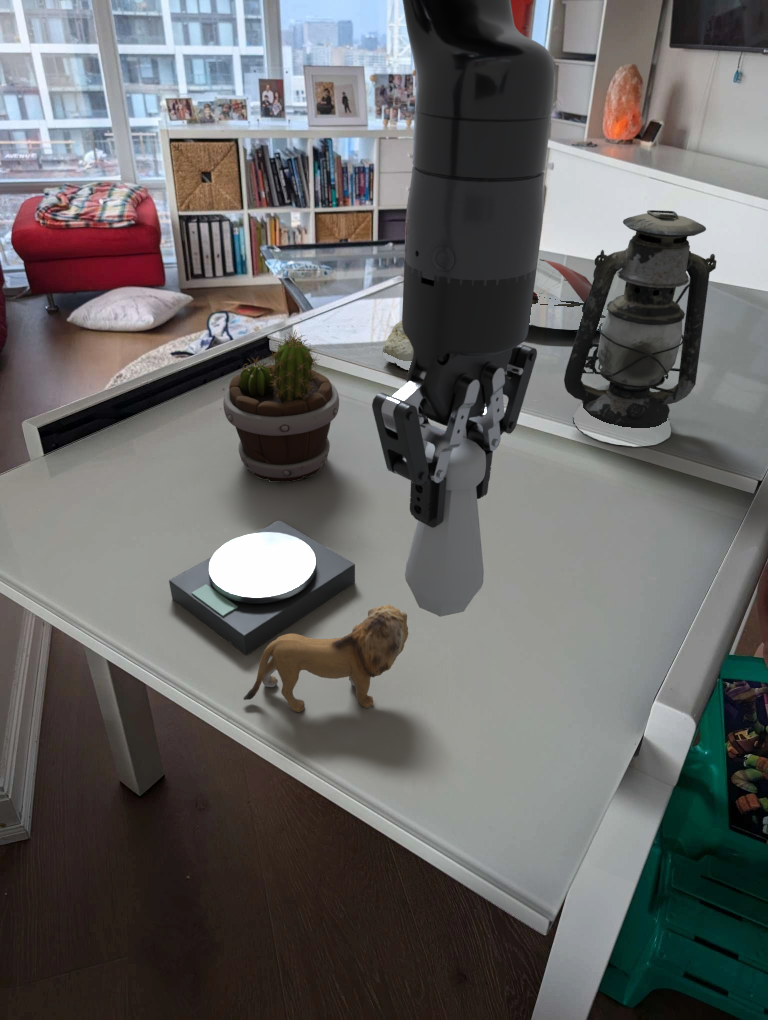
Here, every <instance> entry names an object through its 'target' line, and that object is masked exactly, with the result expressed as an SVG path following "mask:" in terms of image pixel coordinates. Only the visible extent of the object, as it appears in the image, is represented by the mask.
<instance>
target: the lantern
mask: <svg viewBox="0 0 768 1020" xmlns="http://www.w3.org/2000/svg"><path fill="white" fill-rule="evenodd" d="M622 224H623V225H624V226H626V227H627V228H628V229H630V230H632V231H633V232H635V234H634V235H633V236H632V237H631V238H630V239H629V242H628V245H627V248H625V249H623V250H620V251H614V252H612V253H610V254H605V250H604V249H601V250H600V253H599V254H597V256H596V257H595V258H594V266H595V268H594V269H593V275H592V276H593V280H592V282H591V284H592V287H591V290H590V293H589V296H588V298H587V299H586V301H585V303H584V305H583V307H582V312H583V316H582V319H581V322H580V326H579V329H578V331H576V335H575V338H574V342H573V345H572V349H571V352H570V355H569V358H568V362H567V365H566V368H565V372H564V377H563V383H564V388H565V390H566V392H567V393H568V394H570V395H571V396H572V397H573V398H574V399H576V400H579V401H581V403H583V408H584V409H585V410H586V411H587V412H588V413H589V414H590V415H591V416H593V417H595V418H597V419H599V420H601V421H603V422H606V423H609V424H614V425H618V426H622V427H631V428H650V427H656V426H659V425H661V424H662V423H664V422H666V421H667V418H669V415H670V412H671V410H670V406H669V405H671V404H676V403H678V402H680V401H682V400H684V399H685V398H686V397H688V396H689V394H691V392H692V391H693V390H694V388H695V386H696V384H697V383H696V382H697V375H698V368H699V360H700V352H701V345H702V335H703V330H704V329H703V328H704V322H705V321H704V320H705V312H706V303H707V297H708V289H709V281H710V274H711V272H713V271H714V270H716V268H717V260H716V259H715V258H716V255H715V253H711V254H710V255H709V257H707V258H704V257H702V256H700V255H698V254H696V253H693V252H692V251H691V250H690V249H691V245H690V242H689V240H688V238H689V237H695V236H697V235H700V234H702V233H704V232H706V231H707V228H706V226H705V225H704V224H702V223H700V222H698V221H696V220H694V219H692V218H689V217H687V216H684V215H679V214H678V213H677V212H676V211H674V210H656V209H651V210H649V209H648V210H646V213H642V214H637V215H633V216H629V217H627V218H624V219H623V221H622ZM615 275H617V277H618V279H621V280H622V281H625V284H624V285H625V286H624V290H623V294H622V295H619V296H616V297H615V298H614V299H613V300H610V301H609V302H608V303H607V299H608V296H609V293H610V290H611V287H612V284H613V281H614V279H615ZM683 286H684V288H683V290H682V291H681V292H680V294H679V296H678V297H677V299H676V301H674V297H675V293H676V288H678V287H679V288H680V287H683ZM687 290H688V291H687ZM686 292H688V293H687V301H686V308H685V309H686V310H683V308H681V306H680V304H679V302H680V301H681V299H682V297H683V296H684V295H685V293H686ZM606 303H607V305H606ZM605 306H606V310H608V313H607V315H606V316H604V315H602V312H603V309H605ZM600 318H605V320H604V322H603V323H601V324H600V326H599V330H597V327H598V324H599V321H600ZM684 319H685V320H684ZM683 320H684V328H683ZM601 326H602V330H601ZM596 330H597V331H599V333H600V337H599V341H598V343H593V342H594V339H595V337H596V333H597V331H596ZM681 345H682V346H681ZM680 347H681V354H680V364H679V368H677V367H674V366H675V364H676V361H677V357H678V354H679V350H680ZM593 348H595V349H594V350H593V354H592V356H591V355H590V351H591V350H592V349H593ZM597 361H598V368H596V364H597ZM586 369H589V370H592V371H586ZM597 370H598V371H597ZM670 372H678V379H677V384H676V385H674V386H673V387H671V388H663V387H659V386H661V385H663V384H664V383H665V381H666V380H668V379H669V373H670ZM583 374H589V375H591V374H592V375H600V376H601V377H602V378H603V379H605V380H606V381H607V382H609V384H606V385H603V386H600V387H597V388H595V387H593V386H590V385H587V384H584V383H583V381H582V379H583ZM651 389H652V390H656V391H652V390H651Z"/></svg>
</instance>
